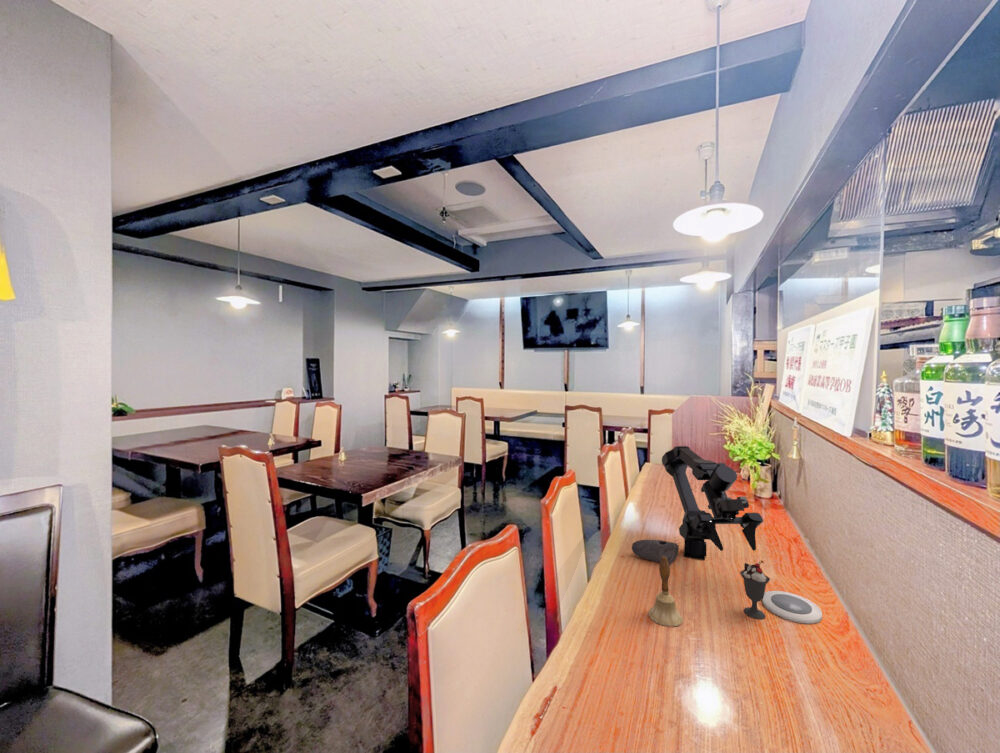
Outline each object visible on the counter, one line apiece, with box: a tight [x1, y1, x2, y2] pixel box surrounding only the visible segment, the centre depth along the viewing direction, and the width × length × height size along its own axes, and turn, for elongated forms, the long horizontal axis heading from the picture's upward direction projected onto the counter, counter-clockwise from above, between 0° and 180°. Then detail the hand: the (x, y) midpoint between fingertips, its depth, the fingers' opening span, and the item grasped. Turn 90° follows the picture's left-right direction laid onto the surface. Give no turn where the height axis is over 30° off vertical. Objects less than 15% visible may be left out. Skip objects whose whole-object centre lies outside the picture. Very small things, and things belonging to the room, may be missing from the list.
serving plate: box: [761, 590, 823, 625], centre depth 108 cm, size 13×13×1 cm
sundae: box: [739, 560, 771, 620], centre depth 106 cm, size 7×7×15 cm
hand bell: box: [648, 556, 684, 627], centre depth 105 cm, size 8×8×16 cm
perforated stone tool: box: [631, 539, 680, 565], centre depth 136 cm, size 15×5×7 cm, turn 61°
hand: (738, 550), depth 114 cm, fingers open, 9 cm apart
